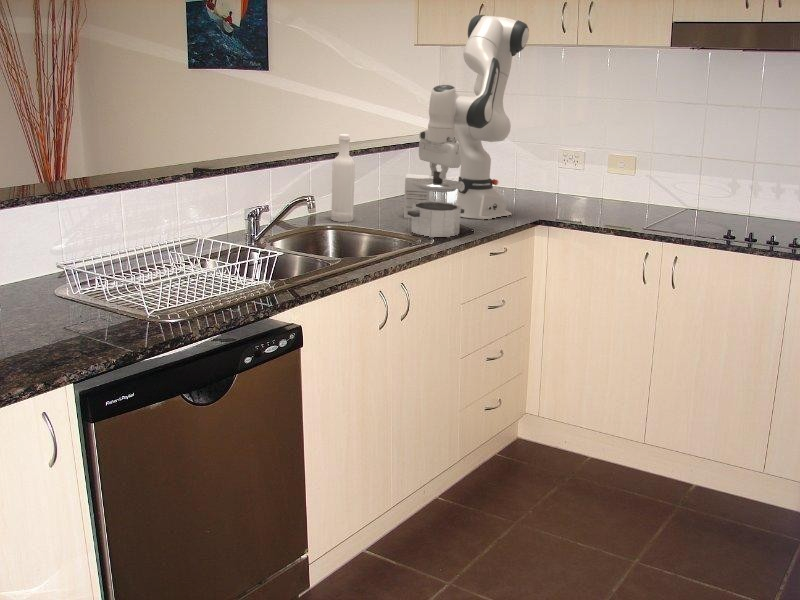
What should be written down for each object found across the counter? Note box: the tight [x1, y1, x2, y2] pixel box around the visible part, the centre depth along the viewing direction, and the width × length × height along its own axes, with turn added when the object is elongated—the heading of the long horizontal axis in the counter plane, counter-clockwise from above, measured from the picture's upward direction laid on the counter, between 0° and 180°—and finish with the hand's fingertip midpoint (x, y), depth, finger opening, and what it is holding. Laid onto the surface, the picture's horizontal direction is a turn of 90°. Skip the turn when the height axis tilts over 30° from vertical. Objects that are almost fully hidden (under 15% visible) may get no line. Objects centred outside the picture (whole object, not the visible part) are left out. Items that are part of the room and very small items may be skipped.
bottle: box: [330, 133, 356, 223], centre depth 308 cm, size 8×8×30 cm
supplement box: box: [403, 173, 431, 219], centre depth 322 cm, size 9×9×15 cm
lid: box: [412, 170, 463, 193], centre depth 295 cm, size 17×17×6 cm
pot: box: [408, 201, 464, 238], centre depth 299 cm, size 20×16×9 cm
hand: (438, 177), depth 295 cm, fingers closed on lid, 3 cm apart
